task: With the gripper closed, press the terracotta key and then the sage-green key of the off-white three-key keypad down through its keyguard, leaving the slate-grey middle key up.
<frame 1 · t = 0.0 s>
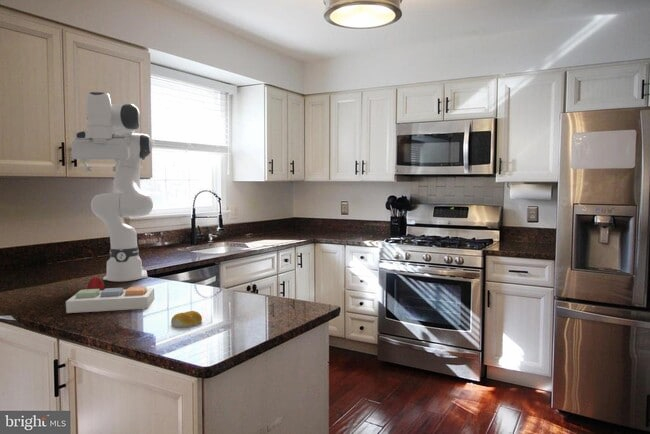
hand: (102, 171, 178), 48 cm above the countertop, fingers open, 8 cm apart
bread roll: (186, 325, 144), on the countertop
keypad: (112, 305, 166), on the countertop
onion: (96, 296, 181), on the countertop
key slate: (112, 294, 166), point 4 cm above the countertop, slide at 0.0 cm
key terracotta: (136, 292, 167), point 4 cm above the countertop, slide at 0.0 cm
key sage: (88, 295, 164), point 4 cm above the countertop, slide at 0.0 cm
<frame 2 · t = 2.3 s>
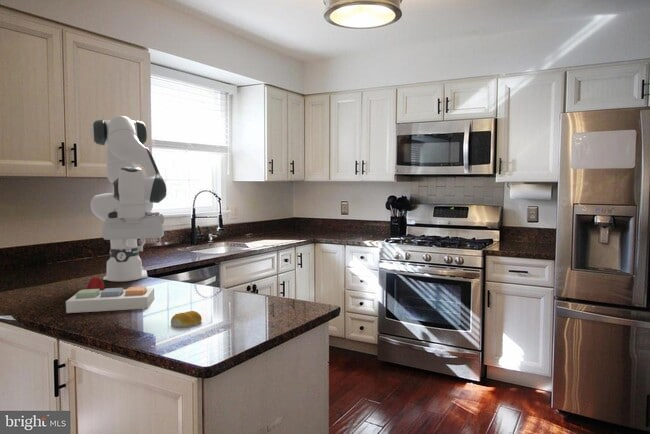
hand: (134, 251, 166), 19 cm above the countertop, fingers open, 3 cm apart
nothing on the countertop moved.
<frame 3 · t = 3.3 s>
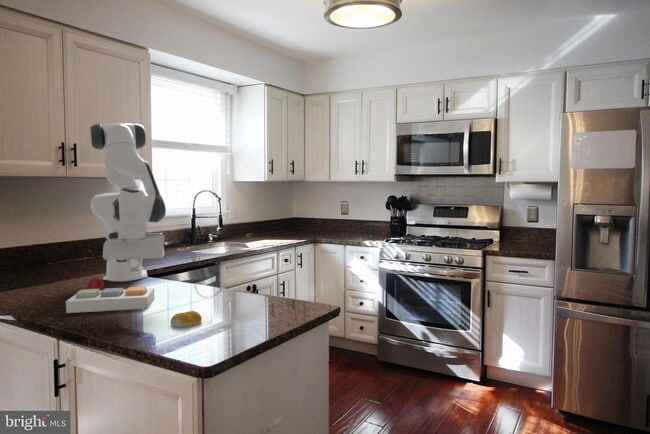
hand: (135, 271, 166), 12 cm above the countertop, fingers closed
nothing on the countertop moved.
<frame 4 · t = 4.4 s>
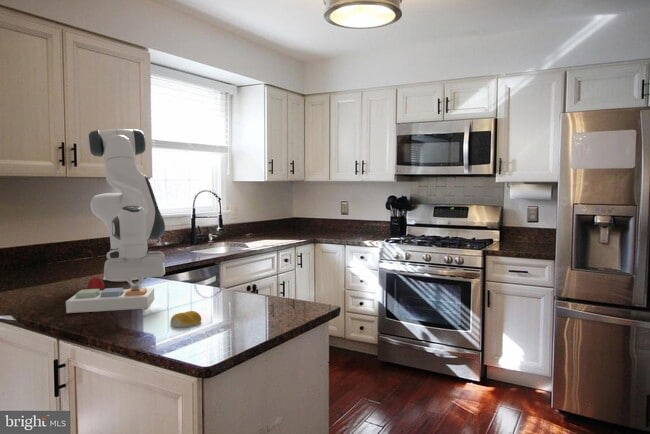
hand: (135, 289, 167), 5 cm above the countertop, fingers closed, pressing on key terracotta
key terracotta: (136, 294, 167), point 4 cm above the countertop, slide at 0.5 cm, touching gripper
everything else where it was.
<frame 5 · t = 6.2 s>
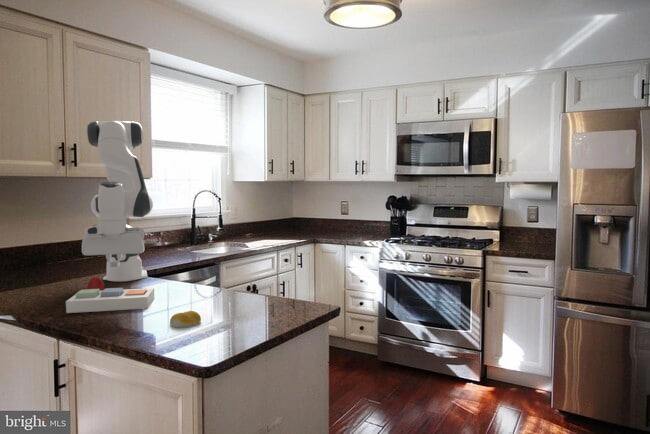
hand: (114, 266, 165), 14 cm above the countertop, fingers closed
key terracotta: (136, 295, 167), point 3 cm above the countertop, slide at 1.1 cm
everything else where it was.
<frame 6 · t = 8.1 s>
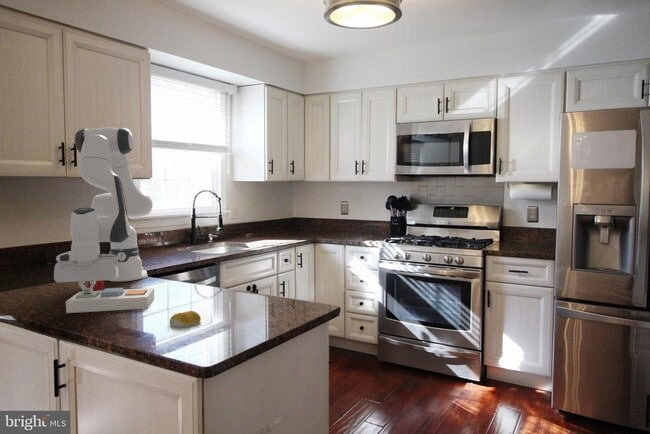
hand: (87, 293, 164), 5 cm above the countertop, fingers closed, pressing on key sage
key sage: (88, 297, 164), point 3 cm above the countertop, slide at 0.9 cm, touching gripper
everything else where it was.
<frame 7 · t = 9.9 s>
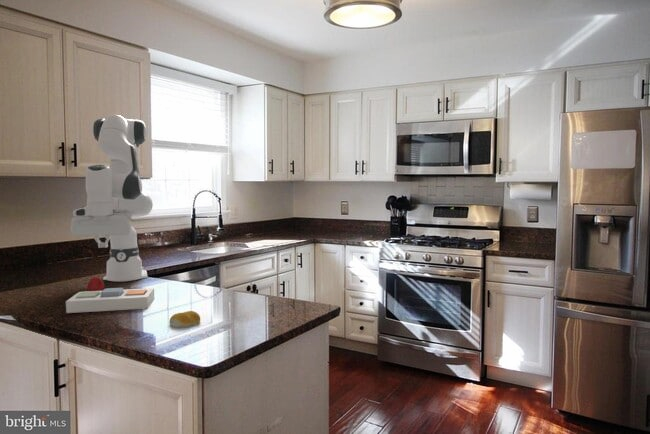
hand: (103, 247, 171), 20 cm above the countertop, fingers closed
key sage: (88, 298, 164), point 3 cm above the countertop, slide at 1.1 cm
everything else where it was.
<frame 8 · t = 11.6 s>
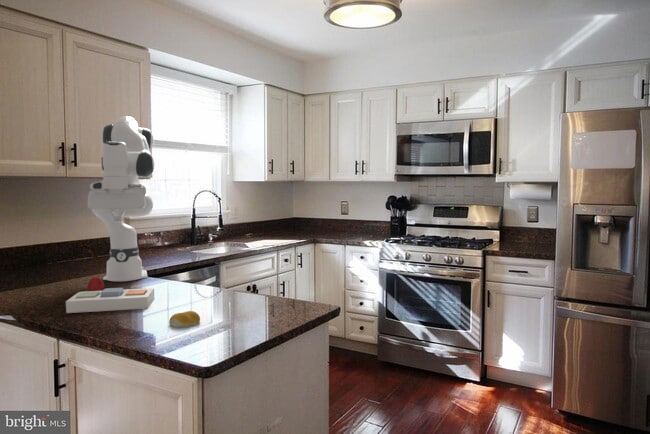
hand: (118, 221, 177), 29 cm above the countertop, fingers closed
nothing on the countertop moved.
at the end: key terracotta slide at 1.1 cm; key sage slide at 1.1 cm; key slate slide at 0.0 cm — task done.
